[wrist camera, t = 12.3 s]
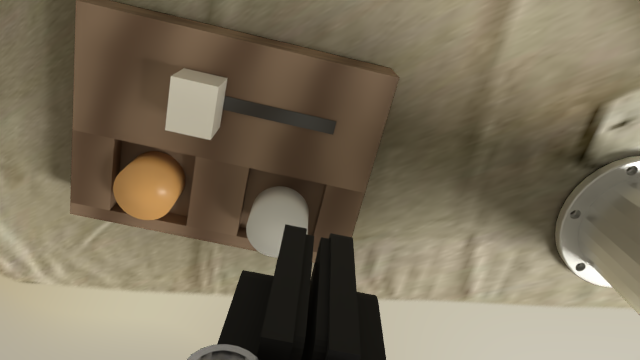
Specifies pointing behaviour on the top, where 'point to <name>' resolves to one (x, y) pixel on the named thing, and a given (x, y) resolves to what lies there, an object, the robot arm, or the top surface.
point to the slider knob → (195, 103)
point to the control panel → (222, 122)
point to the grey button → (275, 218)
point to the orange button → (149, 185)
